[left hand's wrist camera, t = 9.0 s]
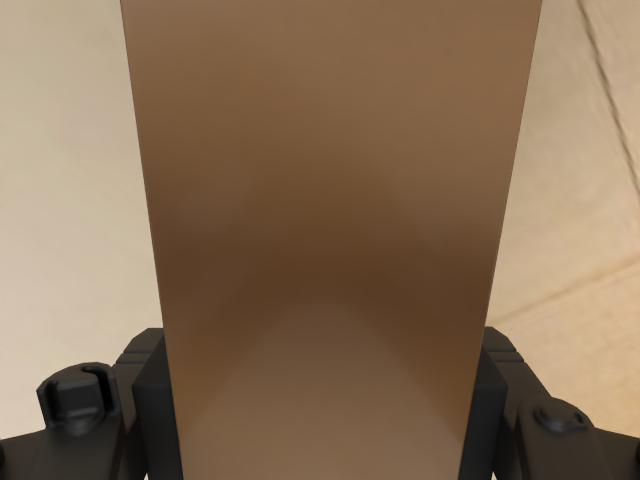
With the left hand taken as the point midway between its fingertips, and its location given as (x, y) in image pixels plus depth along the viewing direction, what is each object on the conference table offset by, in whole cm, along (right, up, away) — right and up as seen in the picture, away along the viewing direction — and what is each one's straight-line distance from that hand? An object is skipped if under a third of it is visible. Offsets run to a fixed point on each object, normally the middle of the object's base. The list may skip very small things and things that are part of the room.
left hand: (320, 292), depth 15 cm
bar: (0, +21, -7) cm, 23 cm away
